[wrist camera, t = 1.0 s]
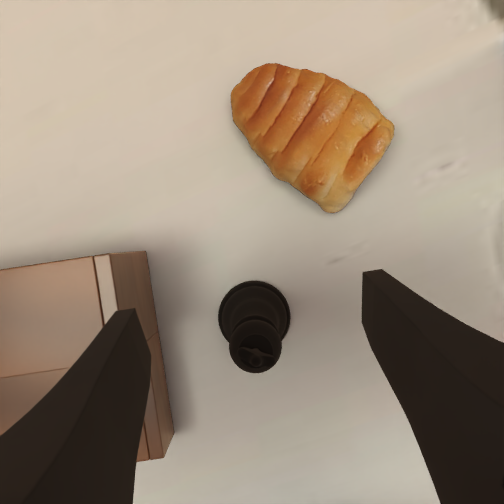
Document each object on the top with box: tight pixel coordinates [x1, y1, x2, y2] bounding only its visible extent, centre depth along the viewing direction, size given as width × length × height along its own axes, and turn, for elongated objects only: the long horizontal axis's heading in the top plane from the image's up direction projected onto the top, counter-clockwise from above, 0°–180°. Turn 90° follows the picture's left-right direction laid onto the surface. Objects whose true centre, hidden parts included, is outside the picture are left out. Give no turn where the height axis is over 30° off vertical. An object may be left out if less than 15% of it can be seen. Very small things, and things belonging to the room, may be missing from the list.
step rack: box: [0, 251, 174, 462], centre depth 22 cm, size 12×13×6 cm
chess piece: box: [218, 281, 290, 373], centre depth 21 cm, size 4×4×10 cm
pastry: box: [231, 63, 394, 213], centre depth 23 cm, size 9×7×4 cm
